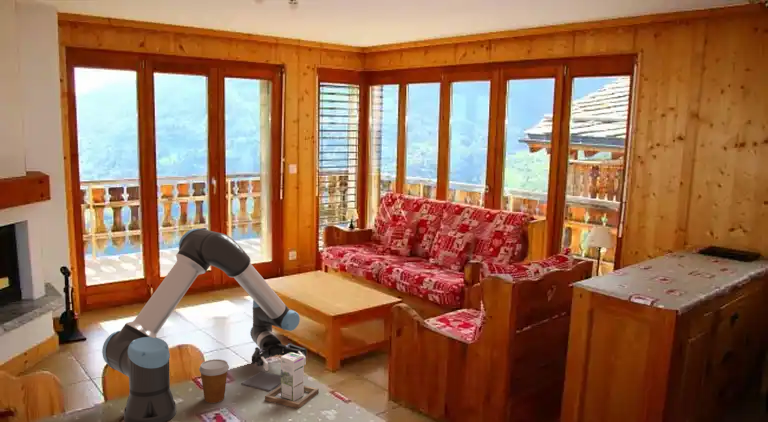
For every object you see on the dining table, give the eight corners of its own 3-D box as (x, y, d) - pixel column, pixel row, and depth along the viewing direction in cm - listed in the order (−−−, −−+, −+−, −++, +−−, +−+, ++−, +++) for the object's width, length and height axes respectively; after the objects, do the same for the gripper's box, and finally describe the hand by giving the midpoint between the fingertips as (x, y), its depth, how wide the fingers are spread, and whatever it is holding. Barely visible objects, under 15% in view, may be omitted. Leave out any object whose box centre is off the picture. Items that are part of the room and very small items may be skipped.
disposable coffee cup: (220, 406, 191) (220, 371, 189) (193, 403, 193) (193, 368, 191) (234, 394, 200) (234, 360, 199) (208, 391, 202) (207, 357, 201)
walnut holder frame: (264, 400, 196) (264, 396, 196) (286, 385, 208) (286, 381, 208) (298, 408, 191) (298, 404, 191) (318, 393, 203) (318, 388, 203)
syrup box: (304, 395, 201) (304, 354, 199) (292, 402, 196) (293, 360, 194) (291, 391, 204) (291, 351, 202) (279, 397, 199) (280, 356, 197)
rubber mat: (241, 384, 208) (241, 383, 208) (261, 372, 219) (261, 371, 219) (269, 391, 203) (269, 389, 203) (288, 378, 214) (288, 377, 214)
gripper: (300, 348, 231) (319, 368, 212) (236, 358, 220) (250, 380, 201) (300, 330, 230) (320, 348, 211) (236, 338, 219) (250, 359, 200)
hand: (286, 364), depth 206 cm, fingers open, 13 cm apart
